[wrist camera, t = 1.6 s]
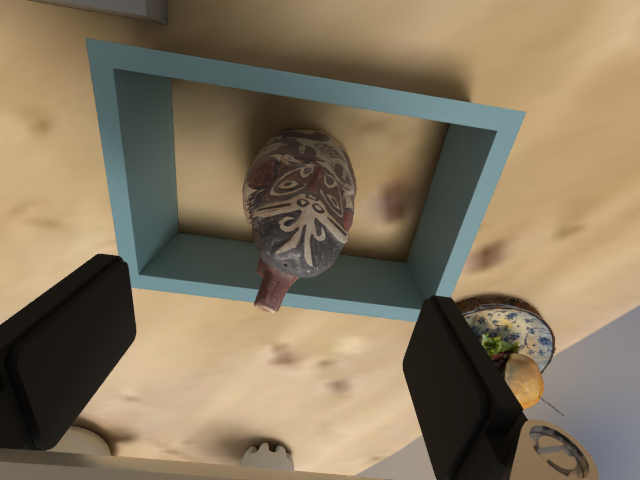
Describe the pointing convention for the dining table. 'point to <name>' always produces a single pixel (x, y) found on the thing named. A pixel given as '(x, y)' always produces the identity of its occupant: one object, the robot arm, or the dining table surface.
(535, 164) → the dining table surface
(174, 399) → the dining table surface
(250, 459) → the bottle
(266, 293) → the figurine
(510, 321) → the burger
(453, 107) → the tub
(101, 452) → the teacup
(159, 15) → the tray
